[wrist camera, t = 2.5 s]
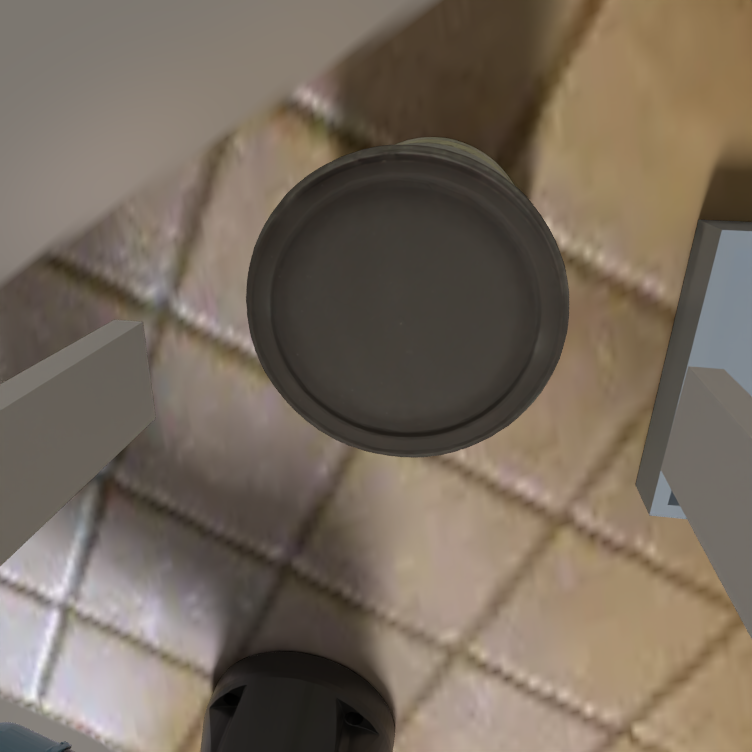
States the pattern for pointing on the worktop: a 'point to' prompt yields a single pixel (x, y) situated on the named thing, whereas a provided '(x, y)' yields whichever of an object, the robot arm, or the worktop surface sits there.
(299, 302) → the coffee can
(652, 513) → the tray
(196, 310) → the worktop surface
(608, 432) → the worktop surface
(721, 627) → the worktop surface
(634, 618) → the worktop surface
